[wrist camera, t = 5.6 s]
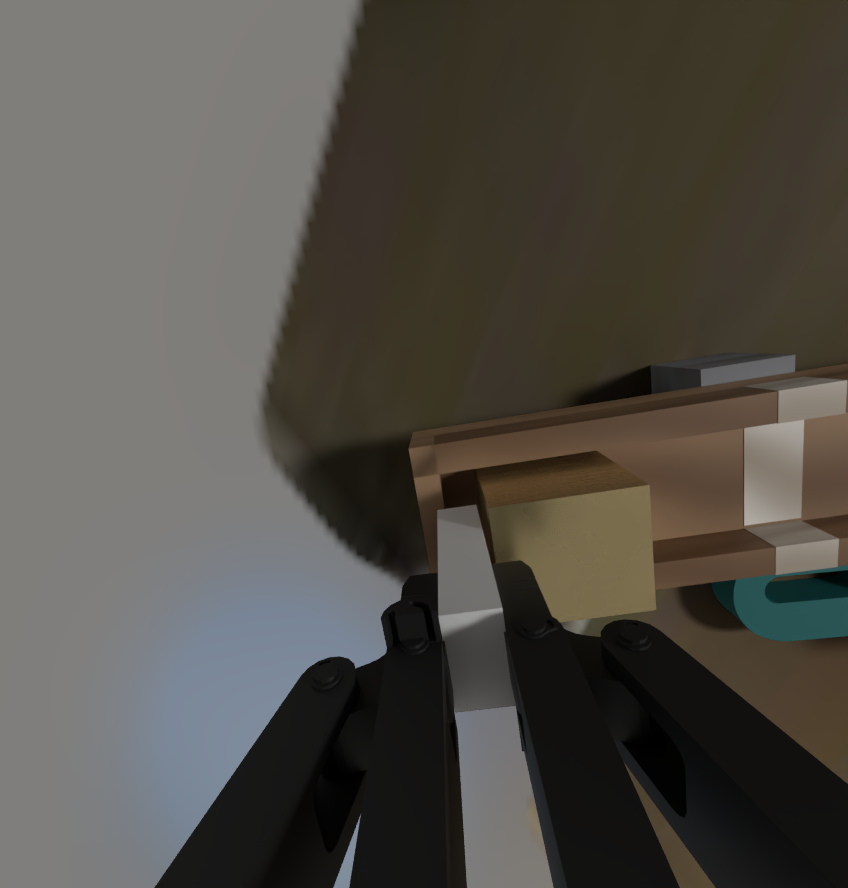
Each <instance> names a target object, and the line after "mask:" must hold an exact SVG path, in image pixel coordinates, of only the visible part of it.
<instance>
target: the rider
mask: <svg viewBox="0 0 848 888" xmlns="http://www.w3.org/2000/svg"><path fill="white" fill-rule="evenodd" d="M475 474H476V481H477V488H478V494H479V501H480V508H481V515H482V522H483V529H484V536H485V541H486V545H487V549H488V553H489V557H490V561H491V564H495V563H503V562H510V561H518V560H521V561H523V562H524V563H525V564H527V565H528V566H530V567H531V569H532V571H533V573H534V576H535V579H536V580H537V583H538V585H539V587H540V590H541V592H542V594H543V597H544V599H545V601H546V604H547V606H548V608H549V611H550V613H551V615H552V617H554V618H556V619H557V620H558V621H559V622H566V621H574V620H582V619H589V618H597V617H605V616H613V615H621V614H629V613H637V612H644V611H652V610H656V599H655V580H654V561H653V541H652V522H651V503H650V485H649V484H647V483H646V482H644V481H643V480H641V479H640V478H638V477H637V476H635V475H634V474H632V473H630V472H629V471H627V470H626V469H624V468H623V467H621V466H620V465H618V464H617V463H615V462H613V461H612V460H610V459H609V458H607V457H606V456H604V455H603V454H601V453H600V452H598V451H590V452H583V453H576V454H570V455H563V456H557V457H550V458H543V459H537V460H530V461H523V462H517V463H510V464H504V465H497V466H490V467H484V468H477V469H475Z"/></svg>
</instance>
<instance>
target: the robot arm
mask: <svg viewBox="0 0 848 888" xmlns="http://www.w3.org/2000/svg"><path fill="white" fill-rule="evenodd" d="M437 528H438V572H437V573H429V574H422V575H414V576H410V577H409V578H408V580H407V581H406V582H405V583H404V585H403V587H402V594H401V600H400V601H398V602H396V603H394V604H392V605H390V606H389V607H388V608H387V609H386V610H385V611H384V612H383V614H382V617H381V621H382V625H383V631H384V635H385V640H386V645H387V652H386V654H385V655H384V656H382V657H381V658H380V659H378V660H376V661H373V662H371V663H369V664H366V665H364V666H361V667H358V668H356V669H355V666H354V663H352V661H350V660H349V659H347V658H344V657H330V658H327V659H324V660H321V661H318V662H317V663H315V664H314V665H312V666H311V667H309V668H308V669H307V670H306V671H305V672H304V673H303V674H302V675H301V677H300V678H299V680H298V681H297V683H296V684H295V685H294V687H293V688H292V690H291V691H290V693H289V694H288V696H287V697H286V699H285V700H284V701H283V703H282V704H281V706H280V707H279V709H278V710H277V711H276V713H275V714H274V716H273V717H272V719H271V720H270V722H269V723H268V725H267V726H266V727H265V729H264V730H263V732H262V733H261V735H260V736H259V738H258V739H257V741H256V742H255V743H254V745H253V746H252V748H251V749H250V750H249V752H248V753H247V755H246V756H245V758H244V759H243V761H242V762H241V763H240V765H239V766H238V768H237V769H236V771H235V772H234V774H233V775H232V776H231V778H230V779H229V781H228V782H227V784H226V785H225V787H224V788H223V790H222V791H221V792H220V794H219V795H218V797H217V798H216V800H215V801H214V803H213V804H212V805H211V807H210V808H209V810H208V811H207V813H206V814H205V815H204V817H203V818H202V820H201V821H200V823H199V824H198V826H197V827H196V829H195V830H194V831H193V833H192V834H191V836H190V837H189V839H188V840H187V842H186V843H185V844H184V846H183V847H182V849H181V850H180V852H179V853H178V854H177V856H176V858H175V859H174V861H173V862H172V863H171V865H170V866H169V868H168V869H167V870H166V872H165V873H164V875H163V876H162V878H161V879H160V881H159V882H158V883H157V885H156V886H155V888H333V887H334V884H335V881H336V878H337V876H338V873H339V871H340V868H341V865H342V863H343V860H344V857H345V855H346V852H347V849H348V846H349V844H350V841H351V838H352V836H353V833H354V830H355V828H356V825H357V822H358V819H359V817H360V814H361V818H360V824H359V830H358V836H357V843H356V849H355V855H354V862H353V868H352V875H351V881H350V887H349V888H467V882H466V866H465V849H464V832H463V815H462V798H461V782H460V766H459V748H458V734H457V733H458V732H457V726H456V720H455V715H454V708H455V712H464V711H473V710H482V709H491V708H499V707H508V706H516V709H517V716H518V724H519V731H520V738H521V745H522V751H524V752H525V757H526V761H527V766H528V771H529V775H530V780H531V784H532V789H533V794H534V798H535V803H536V808H537V812H538V817H539V822H540V826H541V831H542V836H543V840H544V845H545V849H546V854H547V859H548V863H549V868H550V872H551V877H552V882H553V887H554V888H680V887H679V885H678V883H677V880H676V878H675V876H674V874H673V872H672V869H671V867H670V865H669V863H668V860H667V858H666V856H665V854H664V851H663V849H662V847H661V845H660V843H659V840H658V838H657V836H656V834H655V831H654V829H653V827H652V825H651V822H650V820H649V818H648V816H647V814H646V811H645V809H644V807H643V805H642V802H641V800H640V798H639V796H638V793H637V791H636V789H635V787H634V784H633V782H632V780H631V778H630V776H629V773H628V771H627V769H626V767H625V764H626V765H627V767H628V768H629V769H630V771H631V772H632V773H633V775H634V776H635V778H636V779H637V780H638V782H639V783H640V784H641V786H642V787H643V789H644V790H645V791H646V793H647V794H648V795H649V797H650V798H651V800H652V801H653V802H654V804H655V805H656V806H657V808H658V809H659V810H660V812H661V813H662V815H663V816H664V817H665V819H666V820H667V821H668V823H669V824H670V826H671V827H672V828H673V830H674V831H675V832H676V834H677V835H678V837H679V838H680V839H681V841H682V842H683V843H684V845H685V846H686V847H687V849H688V850H689V852H690V853H691V854H692V856H693V857H694V858H695V860H696V861H697V863H698V864H699V865H700V867H701V868H702V869H703V871H704V872H705V874H706V875H707V876H708V878H709V879H710V880H711V882H712V883H713V884H714V886H715V887H716V888H848V784H847V783H846V782H844V781H843V780H842V779H841V778H840V777H838V776H837V775H836V774H835V773H833V772H832V771H831V770H830V769H829V768H827V767H826V766H825V765H824V764H822V763H821V762H820V761H819V760H818V759H816V758H815V757H814V756H813V755H811V754H810V753H809V752H808V751H807V750H805V749H804V748H803V747H802V746H800V745H799V744H798V743H797V742H796V741H794V740H793V739H792V738H791V737H789V736H788V735H787V734H786V733H785V732H783V731H782V730H781V729H780V728H778V727H777V726H776V725H775V724H774V723H772V722H771V721H770V720H769V719H767V718H766V717H765V716H764V715H763V714H761V713H760V712H759V711H758V710H756V709H755V708H754V707H753V706H752V705H750V704H749V703H748V702H747V701H745V700H744V699H743V698H742V697H741V696H739V695H738V694H737V693H736V692H734V691H733V690H732V689H731V688H730V687H728V686H727V685H726V684H725V683H723V682H722V681H721V680H720V679H719V678H717V677H716V676H715V675H714V674H712V673H711V672H710V671H709V670H708V669H706V668H705V667H704V666H703V665H701V664H700V663H699V662H698V661H697V660H695V659H694V658H693V657H692V656H690V655H689V654H688V653H687V652H686V651H684V650H683V649H682V648H681V647H679V646H678V645H677V644H676V643H675V642H673V641H672V640H671V639H670V638H668V637H667V636H666V635H665V634H664V633H662V632H661V631H660V630H658V629H656V628H655V627H653V626H652V625H650V624H647V623H644V622H640V621H637V620H618V621H613V622H611V623H609V624H607V625H605V627H604V628H603V629H602V631H601V637H595V636H586V635H580V634H575V633H573V632H570V631H567V630H565V629H564V628H563V626H562V625H561V623H560V622H559V621H558V620H557V619H556V618H554V617H552V615H551V613H550V611H549V608H548V606H547V604H546V601H545V599H544V597H543V594H542V592H541V590H540V587H539V585H538V583H537V580H536V579H535V576H534V573H533V571H532V569H531V567H530V566H528V565H527V564H525V563H524V562H523V561H521V560H518V561H510V562H503V563H495V564H491V561H490V557H489V553H488V549H487V545H486V541H485V537H484V533H483V530H482V526H481V522H480V518H479V514H478V510H477V506H476V505H470V506H463V507H456V508H449V509H442V510H437ZM623 761H624V762H623ZM624 763H625V764H624Z"/></svg>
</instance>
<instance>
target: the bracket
mask: <svg viewBox="0 0 848 888" xmlns="http://www.w3.org/2000/svg"><path fill="white" fill-rule="evenodd" d="M833 571H841V572H840V573H838V574H837V575H834V576H829V577H819V578H808V579H797V580H787V581H776V582H770V581H771V580H772V579H774V578H776V577H780V576H791V575H801V574H812V573H822V572H833ZM711 585H712V589H713V592H714V594H715V596H716V598H717V599H718V600H719V602H720V603H721V604H722V605H723V606H724V607H725V608H726V609H727V610H728V611H730V612H731V613H732V614H733V615H734V616H735V617H736V618H737V619H738V620H740V621H741V622H742V623H743V624H744V625H745V626H746V627H747V628H749V629H750V630H751V631H752V632H754V633H756V634H757V635H759V636H762V637H764V638H767V639H771V640H777V641H797V640H809V639H820V638H832V637H843V636H848V565H843V566H838V567H833V568H826V569H818V570H810V571H803V572H795V573H787V574H779V575H775V574H774V575H766V576H758V577H751V578H743V579H735V580H728V581H720V582H712V583H711Z"/></svg>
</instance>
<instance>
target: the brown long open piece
mask: <svg viewBox="0 0 848 888" xmlns="http://www.w3.org/2000/svg"><path fill="white" fill-rule="evenodd" d="M650 366H651V387H652V394H651V395H644V396H638V397H632V398H626V399H619V400H613V401H607V402H600V403H594V404H588V405H581V406H575V407H569V408H562V409H556V410H550V411H543V412H537V413H531V414H524V415H518V416H512V417H505V418H499V419H493V420H486V421H480V422H474V423H467V424H461V425H455V426H448V427H442V428H436V429H429V430H423V431H417V432H413V434H412V437H411V441H410V445H409V454H410V460H411V466H412V471H413V477H414V482H415V488H416V494H417V499H418V505H419V510H420V516H421V522H422V527H423V533H424V538H425V544H426V550H427V555H428V561H429V566H430V572H431V573H437V572H438V528H437V510H442V509H449V508H456V507H463V506H470V505H476V506H477V510H478V514H479V518H480V522H481V526H482V530H483V533H484V529H483V522H482V515H481V508H480V501H479V494H478V488H477V481H476V474H475V469H477V468H484V467H490V466H497V465H504V464H510V463H517V462H523V461H530V460H537V459H543V458H550V457H557V456H563V455H570V454H576V453H583V452H590V451H598V452H600V453H601V454H603V455H604V456H606V457H607V458H609V459H610V460H612V461H613V462H615V463H617V464H618V465H620V466H621V467H623V468H624V469H626V470H627V471H629V472H630V473H632V474H634V475H635V476H637V477H638V478H640V479H641V480H643V481H644V482H646V483H647V484H649V485H650V503H651V522H652V541H653V561H654V580H655V590H658V589H666V588H674V587H681V586H689V585H697V584H704V583H712V582H720V581H728V580H735V579H743V578H751V577H758V576H766V575H774V574H775V575H779V574H787V573H795V572H803V571H810V570H818V569H826V568H833V567H838V566H843V565H848V363H847V364H841V365H834V366H828V367H822V368H815V369H809V370H803V371H796V372H795V354H751V353H723V354H717V355H711V356H704V357H698V358H692V359H686V360H680V361H674V362H667V363H661V364H655V365H650ZM484 537H485V536H484Z"/></svg>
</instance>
